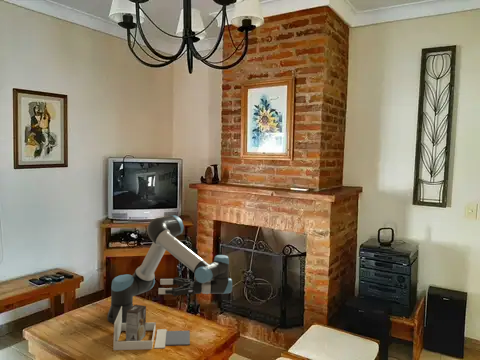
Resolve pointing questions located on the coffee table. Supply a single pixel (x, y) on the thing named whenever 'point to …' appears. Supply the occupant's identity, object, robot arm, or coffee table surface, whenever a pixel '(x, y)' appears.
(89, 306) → the coffee table surface
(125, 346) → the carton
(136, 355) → the coffee table surface
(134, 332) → the coffee box
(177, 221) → the robot arm
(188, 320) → the coffee table surface
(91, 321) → the coffee table surface
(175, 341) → the mat
